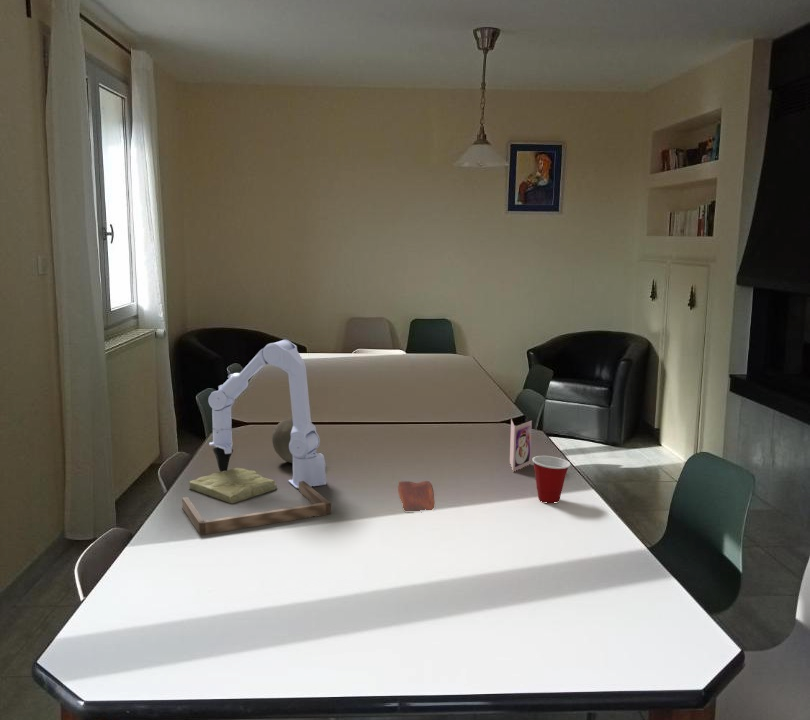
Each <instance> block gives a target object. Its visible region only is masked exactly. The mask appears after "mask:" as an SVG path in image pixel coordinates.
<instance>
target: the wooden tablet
mask: <svg viewBox="0 0 810 720" xmlns="http://www.w3.org/2000/svg"><path fill="white" fill-rule="evenodd" d="M397 489H398V496H399V500H400V499H401V501H402V503H403V507H402V509H403V508H404V510H405V511H420V510H425V509H426V510H432V509H433V508H434V504H435V500H434V492H433V486H432V483H431V481H429V480H423V481H421V482H414V481H410V480H409V481H408V480H407V481H406V480H405V481H404V480H402V481H400V482H398V486H397ZM401 501H400V502H401ZM404 510H403V511H404ZM405 511H404V512H405Z"/></svg>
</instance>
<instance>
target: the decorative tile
mask: <svg viewBox="0 0 810 720" xmlns="http://www.w3.org/2000/svg"><path fill="white" fill-rule="evenodd" d="M188 487H189V489H190V490H192V491H196V492H198V493H201V494H203V495H207V496H209V497H213V498H215V499H218V500H220V501H223V502H226V503H229V504H235V503H238V502H241V501H244V500H247V499H250V498H252V497H256V496H259V495H263V494H265V493H268V492H271V491H274V490H276V489H277V487H278V486H277V484H276V483H275V480H274V479H272V478H267V477H263V476H262V475H260V474H258V473H257V472H256V471H255V470H250V469H249V470H248V469H246V468H240V467H235V468H232V469H227V471H220V470H219V471H216V472H212V473H211V474H210V475H204V476H199V477H198V478H196V479H193V480H189V486H188Z"/></svg>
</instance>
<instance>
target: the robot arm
mask: <svg viewBox="0 0 810 720" xmlns="http://www.w3.org/2000/svg"><path fill="white" fill-rule="evenodd" d="M266 365H271V366H274V367H277V368H280V369H281V370H282V371H284V372H286V373H287V375H288V376H287V377H288V385H289V386H288V387H289V396H290V397H289V398H290V406H291V417H292V418H291V419H293V428H292V431H291V440H290V443H289V450H290V452H291V454H292V455H293V464H292V479H288V482H289V484H291V485H292V486H293V487H294V488H295V489H298V490H299V481H304V482H306V483H307V484H308V485H309V486H311V487H312V486H313V487H318V486H325V485H327V482H326V461H325V459H326V458H325V457H324V455H323V454H322V453H317V449H318V448H319V446H320V443H321V439H320V436H319V434H318V432H317V427H316V426H315V424H314V423H312V418H311V406H310V399H309V398H310V397H309V395H310V394H309V387H308V386H309V385H308V376H307V368H306V367H307V366H306V363H305V361H304V359H303V358H302V356H301V354H300V352H299V351H298V346H297V345H296V344H294V343H292V342H291V341H290V340H288V339H282V340H279V341H276V342H270V343H267V344H266V345H265V346H264V347H263V348H261V349H260V350H259V351H258V352H257V353H256V354H255V356H254V357H253V358H252V359H251V360H249V362H248V364H247V365H245V367H243V369H242V370H241V371H240V372H234V373H231V374H229V375H227V378H228V379H226V381H225V382H223V384H220V385H218V386H217V387H218V390H215V391H212V392H211V393H210V395H209V396H208V400H207V402H208V404H209V407H210V408H211V409H212V410H211V415H212V417H211V418H212V442H211V441H210V442H209V443H208V446H209V447H213V448H212V451H213V454H214V456H215V458H216V462H217V466H218V470H219V472H220V471H222V472H224V471H227V470H229V468H228V467H229V462H230V459H231V457H232V454H233V453H234V449H233V433H232V406H233V404H234V403H235V399H237V397H239V396H240V395H241V393H243V392H244V390H245V389H247V387H249V380H250V379H251V378H253V376H254V375H256V374H257V373H258V372H259V371H260V370H261V369H262V368H263V367H264V366H266ZM313 487H312V488H313Z"/></svg>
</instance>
